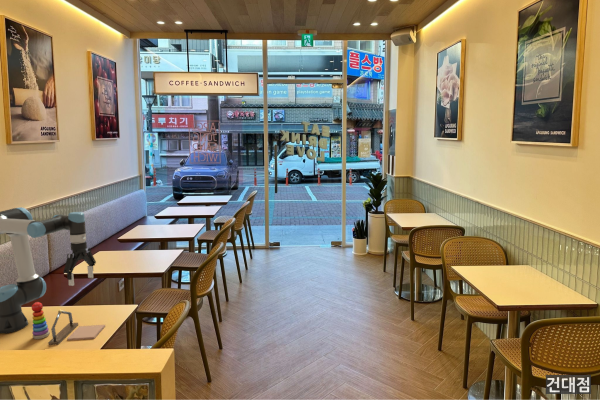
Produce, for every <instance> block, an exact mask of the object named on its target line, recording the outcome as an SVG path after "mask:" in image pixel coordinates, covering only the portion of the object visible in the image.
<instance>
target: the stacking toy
mask: <svg viewBox="0 0 600 400" xmlns="http://www.w3.org/2000/svg"><path fill="white" fill-rule="evenodd" d="M43 307H44V306H43V303H41V302H39V301H36V302H34V303H33V304H32V305H31V310H32V338H33V339H35V340H40V339H44V338H47V337H48V336H49V335H50V330H49V328H48V327H49V326H48V324H47V323H48V322H47V320H46V316H45V314H44V310H43Z"/></svg>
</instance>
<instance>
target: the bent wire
mask: <svg viewBox="0 0 600 400" xmlns="http://www.w3.org/2000/svg"><path fill="white" fill-rule="evenodd" d="M61 314H64V315H68V320H69V323H67V324H66V325H65V326H64V327H63V328H62V329H61V330H60V331H59V332H58V333H56V326H57V323H58V321H59V319H60V316H61ZM73 320H74V319H73V316H72V312H71V311H65V310H61V309H59V310H58V312H57V316H56V318H55V320H54V322H53V324H52V327H51V335H52V338H51V339H50V340H49V341H48V342H47V344H48V346H58V345H60V344H61V343H62V342H63V341H64V340H65V339H67V338H68V337H69V336H70V335H71V334H72V333H73V332H74V331H75V330H76V329H77V328H78V327H79V322H74V321H73Z"/></svg>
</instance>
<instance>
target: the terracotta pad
mask: <svg viewBox="0 0 600 400" xmlns="http://www.w3.org/2000/svg"><path fill="white" fill-rule="evenodd" d="M105 328H106V324H96V325H93V324H92V325H80V326H79V325H78V326H77V327H76V328H75V329H74V330H73V331H72V332H71V333H70V334H69V335H68V336H67V337H66V339H67V341H79V340H80V341H81V339H82V340H94V339H96V337H98V336H99V334H100V333H101V332H102V331H103V330H104V329H105Z"/></svg>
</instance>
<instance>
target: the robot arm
mask: <svg viewBox="0 0 600 400" xmlns="http://www.w3.org/2000/svg"><path fill="white" fill-rule="evenodd" d="M61 231H69V241H70V250H71V253H67V254H66V255H67V256H66V260H65V261H66V262H65V266H64V268H63V274H66V276H67V280H68V286H72V287H73V286H75V279H74V272H73V271H74V269H75V267H76V265H77V263H78V262H79V261H81V260H83V261H84V262H85V263H86V264H87V266H86V267H87V278H88V279H94V266H96V263H97V261H96V259H95V257H94V255H93V253H92V250H91V248H90V247H88V246H87V235H86V233H87V231H86V218H85V213H84V212H83V211H73V212H72V211H71V212H69V213H68V214H67V215H65V214H56V215H53V216H52V217H51V218H47V219H42V220H35V219H33V215H32V213H31V212H30V211H29V210H28V209H27V208H25V207H23V206H22V207H14V208H13V207H12V208H9V209H5V210H1V211H0V235H4V234H5V235H7V236H8V237H9V239H10V243H11V248H12V252H13V256H14V257H13V258H14V261H15V267H16V272H17V276H18V277H17V279H16V280H15V281H16V283H9V284H7V285H6V284H5V285H3V286H0V333H5V334H11V333H15V332H17V331H21V330H22V329H24V328H26V327H27V326H28V325H29V322H28V321H29V320H28V318H27V316H26V315H25V313H23V310H22V306H23V305H26V304H29V303H30V302H33V301H36V300H38V299H39V298H42V297H43V296H44V295H45V293H46V291H47V283H46V281H45V280H44V278H43V277H41V276H40V275H39V274H38V273H36V269H35V265H34V264H35V263H34V259H33V254H32V249H31V245H30V240H29V237H31V238H32V239H36V238H41V237H43V236H47V235H50V234H54V233H57V232H61ZM14 331H15V332H14ZM10 332H11V333H10Z"/></svg>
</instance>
